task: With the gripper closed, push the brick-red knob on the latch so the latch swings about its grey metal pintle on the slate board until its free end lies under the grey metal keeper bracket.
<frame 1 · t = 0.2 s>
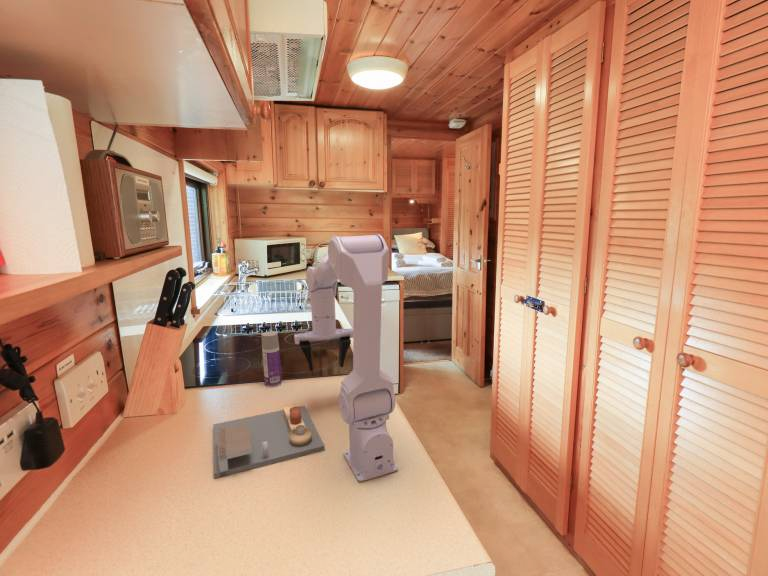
hand: (326, 367, 99), 10 cm above the countertop, fingers open, 7 cm apart
container: (273, 384, 114), on the countertop
board: (266, 438, 86), on the countertop
latch: (295, 417, 87), point 3 cm above the countertop, hinge at 0.0°
keeper: (236, 460, 78), resting on board
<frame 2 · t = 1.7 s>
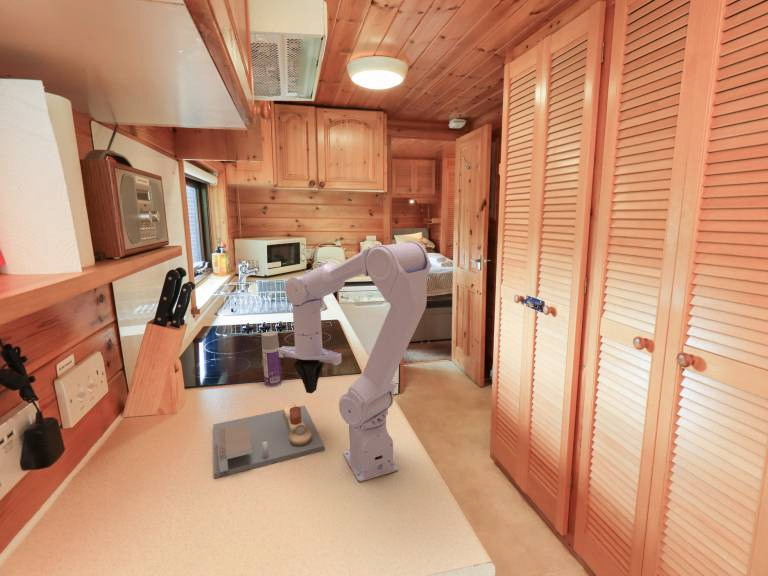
hand: (311, 391, 86), 10 cm above the countertop, fingers closed
nothing on the countertop moved.
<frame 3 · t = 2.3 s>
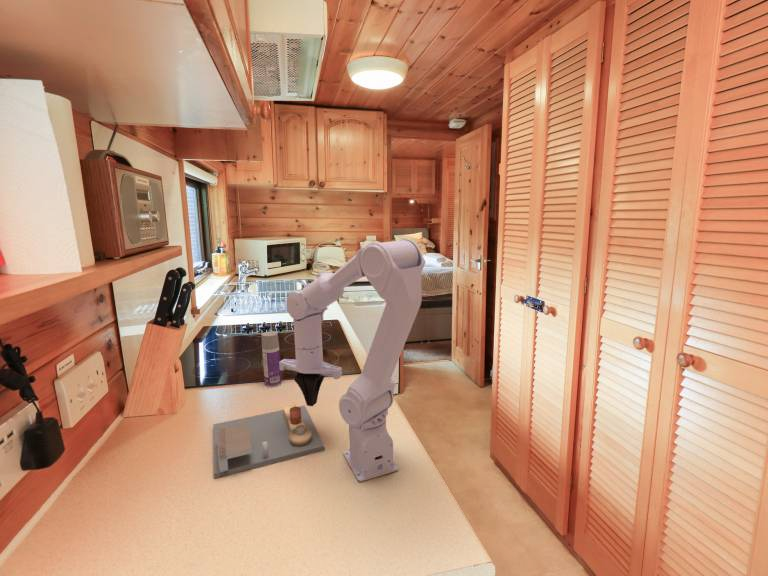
hand: (311, 403, 87), 7 cm above the countertop, fingers closed
nothing on the countertop moved.
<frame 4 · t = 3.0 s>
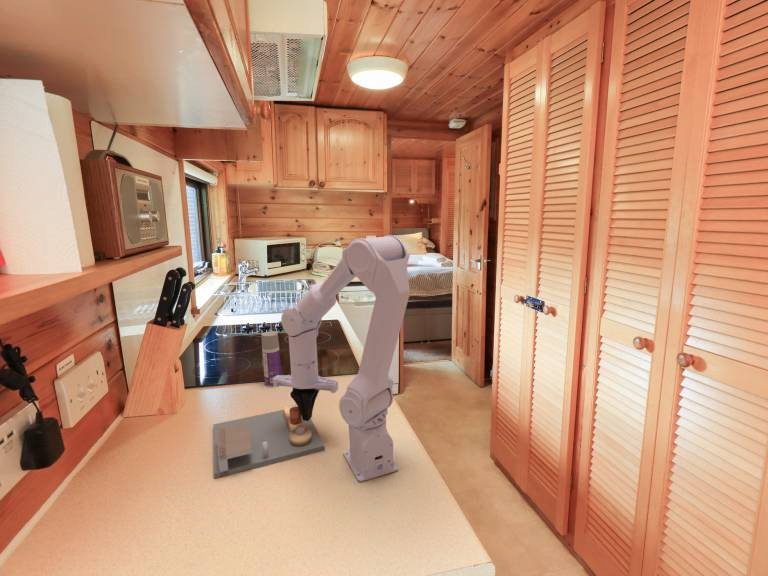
hand: (307, 418, 87), 3 cm above the countertop, fingers closed
latch: (295, 417, 87), point 3 cm above the countertop, hinge at 0.0°, touching gripper
everything else where it was.
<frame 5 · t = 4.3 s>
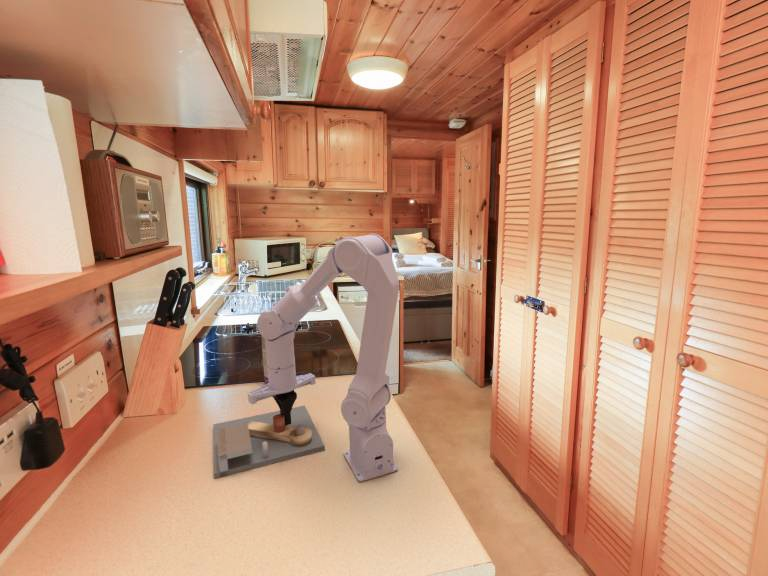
hand: (285, 423, 85), 3 cm above the countertop, fingers closed, pressing on latch
latch: (277, 426, 84), point 3 cm above the countertop, hinge at 49.9°, touching gripper
everything else where it was.
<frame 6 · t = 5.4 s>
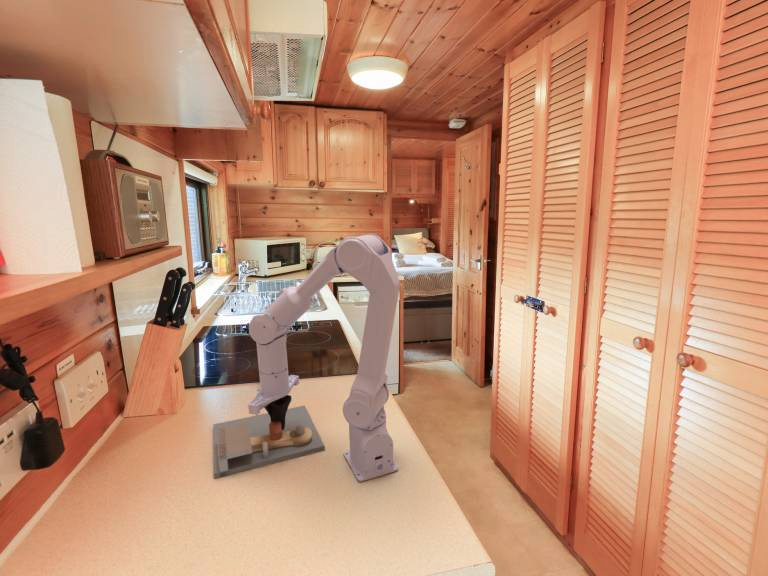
hand: (278, 429, 83), 3 cm above the countertop, fingers closed, pressing on latch
latch: (274, 434, 81), point 3 cm above the countertop, hinge at 83.1°, touching gripper
everything else where it was.
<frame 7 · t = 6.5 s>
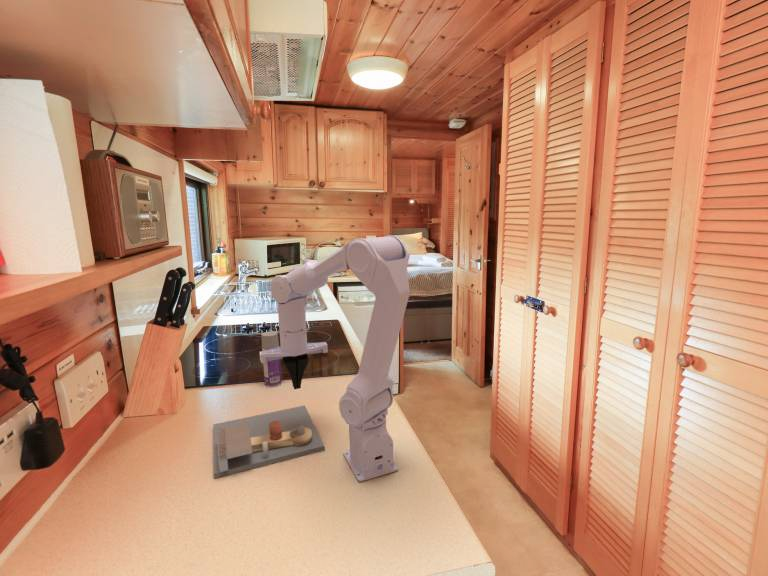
hand: (296, 387, 88), 10 cm above the countertop, fingers closed
latch: (274, 434, 81), point 3 cm above the countertop, hinge at 83.2°
everything else where it was.
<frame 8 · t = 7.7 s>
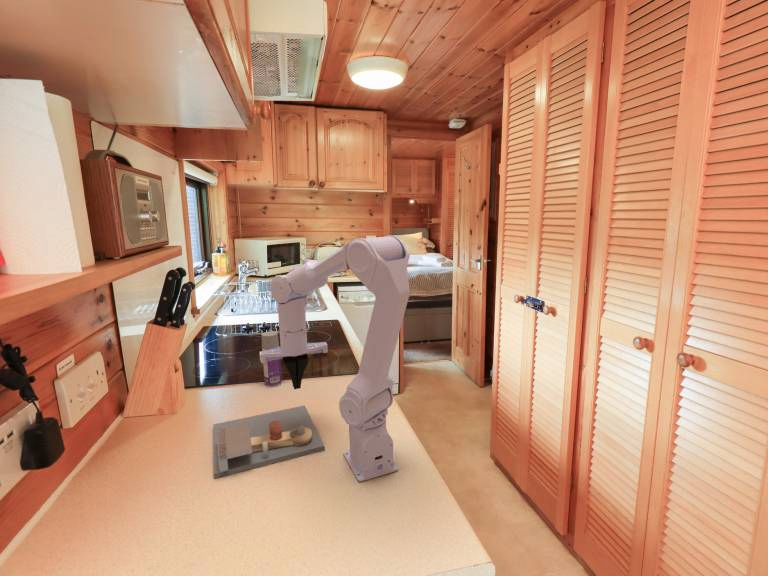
hand: (296, 387, 88), 10 cm above the countertop, fingers closed
nothing on the countertop moved.
at the end: latch at +83° (first picture: +0°); latch touching nothing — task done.
